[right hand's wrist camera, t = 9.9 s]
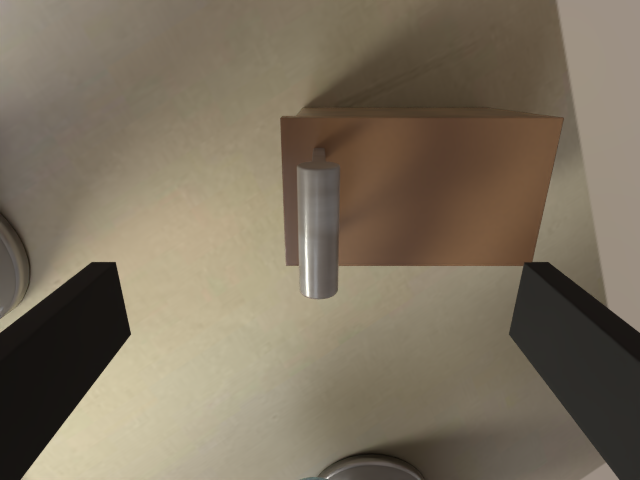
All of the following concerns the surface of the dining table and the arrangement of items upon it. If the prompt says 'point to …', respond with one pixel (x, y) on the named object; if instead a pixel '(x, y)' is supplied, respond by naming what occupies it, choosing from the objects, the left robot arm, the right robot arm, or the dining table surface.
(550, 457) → the dining table surface
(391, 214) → the lid
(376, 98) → the dining table surface
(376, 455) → the left robot arm
